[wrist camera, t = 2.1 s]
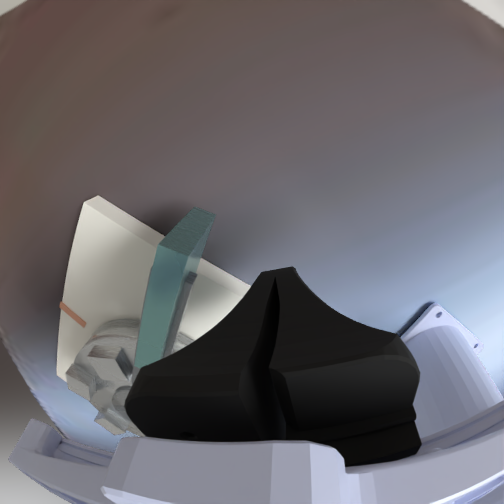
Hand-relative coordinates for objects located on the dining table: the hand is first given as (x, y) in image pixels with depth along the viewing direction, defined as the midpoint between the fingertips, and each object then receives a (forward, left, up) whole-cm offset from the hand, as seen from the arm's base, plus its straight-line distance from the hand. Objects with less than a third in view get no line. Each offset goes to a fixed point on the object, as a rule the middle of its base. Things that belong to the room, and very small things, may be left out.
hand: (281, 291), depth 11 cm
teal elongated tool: (+3, +9, -2) cm, 9 cm away
